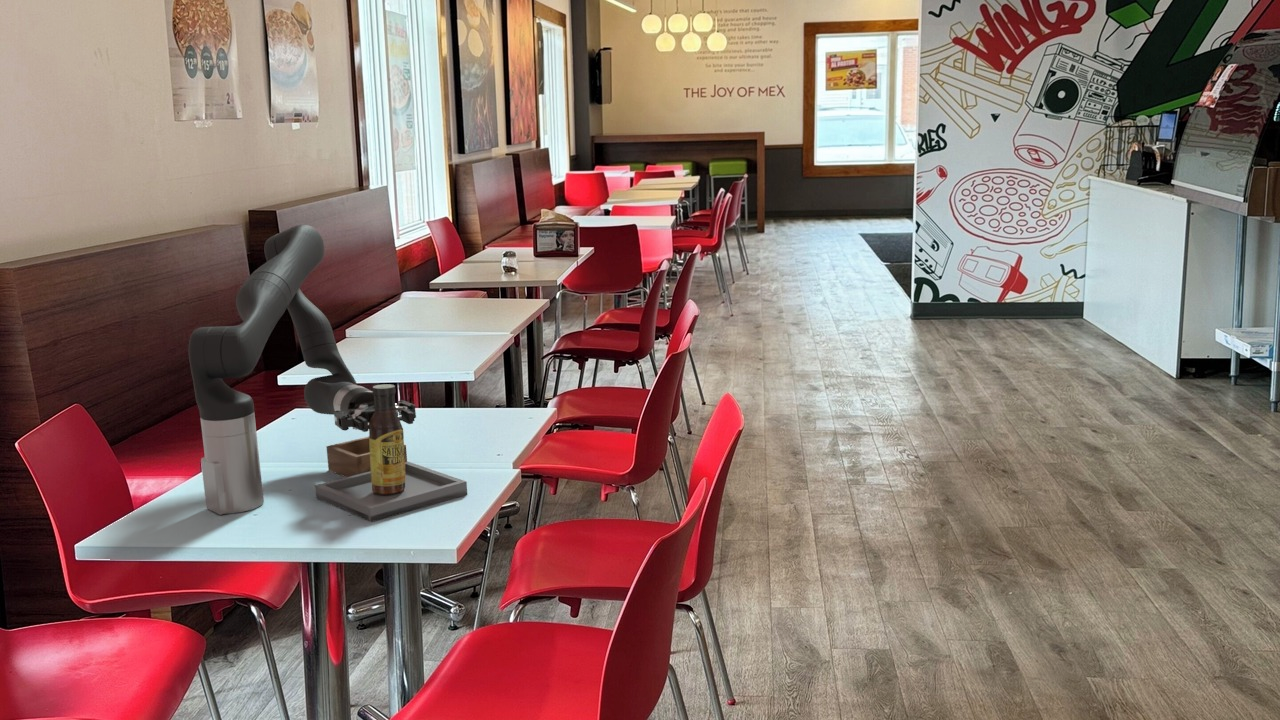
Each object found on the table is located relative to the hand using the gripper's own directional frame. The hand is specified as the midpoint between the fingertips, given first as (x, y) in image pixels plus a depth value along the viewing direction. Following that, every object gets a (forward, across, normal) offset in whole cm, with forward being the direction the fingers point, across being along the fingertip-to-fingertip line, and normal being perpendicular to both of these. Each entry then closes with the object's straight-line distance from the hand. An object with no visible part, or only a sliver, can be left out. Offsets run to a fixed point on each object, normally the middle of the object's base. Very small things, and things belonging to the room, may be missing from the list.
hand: (389, 422), depth 206 cm
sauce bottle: (-2, 0, +14) cm, 14 cm away
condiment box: (-22, +3, +14) cm, 26 cm away
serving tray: (-2, 0, +14) cm, 15 cm away
